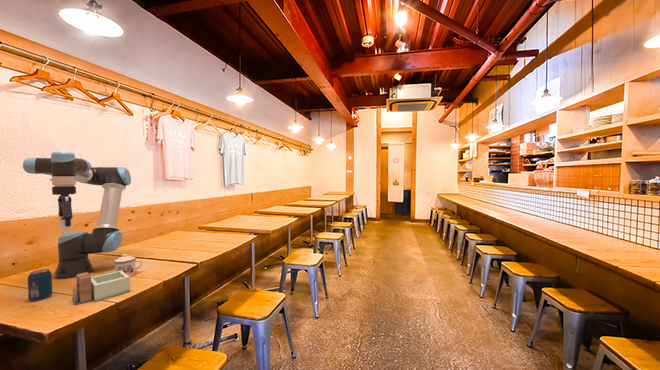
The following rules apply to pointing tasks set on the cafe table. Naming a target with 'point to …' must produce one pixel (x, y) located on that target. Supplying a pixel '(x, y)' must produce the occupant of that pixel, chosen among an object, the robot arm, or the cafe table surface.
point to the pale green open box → (110, 285)
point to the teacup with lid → (126, 264)
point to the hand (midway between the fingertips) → (65, 232)
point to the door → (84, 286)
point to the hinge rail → (75, 297)
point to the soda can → (39, 285)
